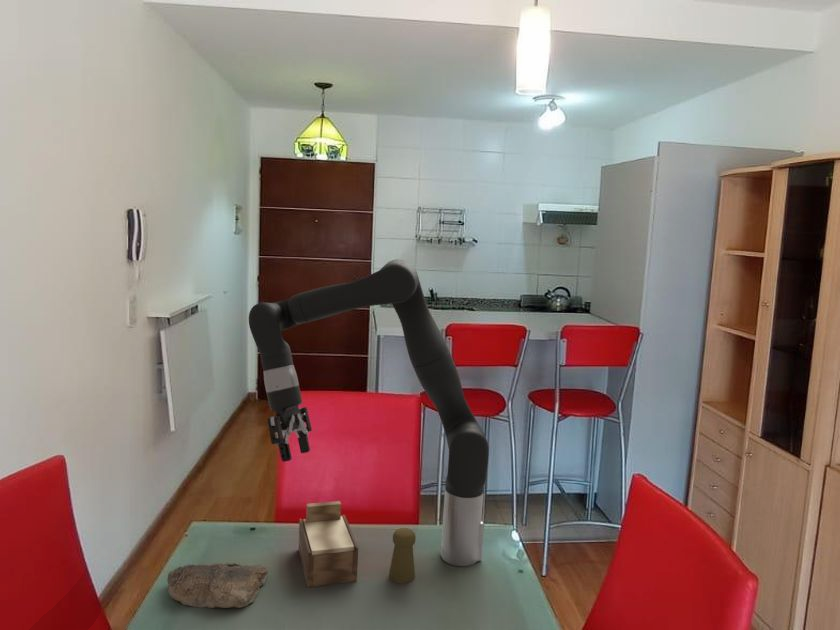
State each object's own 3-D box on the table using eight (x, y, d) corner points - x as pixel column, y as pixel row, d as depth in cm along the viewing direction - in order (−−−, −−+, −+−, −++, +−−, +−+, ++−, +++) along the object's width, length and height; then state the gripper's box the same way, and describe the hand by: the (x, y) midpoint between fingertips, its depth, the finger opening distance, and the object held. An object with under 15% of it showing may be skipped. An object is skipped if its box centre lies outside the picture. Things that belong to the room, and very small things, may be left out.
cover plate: (341, 519, 157) (342, 500, 156) (354, 550, 143) (355, 529, 142) (302, 523, 154) (303, 503, 153) (311, 555, 140) (312, 533, 139)
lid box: (343, 545, 159) (344, 514, 158) (356, 581, 144) (358, 547, 143) (298, 549, 155) (299, 518, 154) (307, 587, 140) (308, 553, 139)
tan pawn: (383, 575, 147) (385, 530, 145) (401, 565, 151) (404, 521, 149) (402, 586, 143) (404, 540, 141) (420, 576, 147) (423, 531, 145)
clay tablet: (152, 607, 131) (248, 615, 130) (152, 584, 130) (248, 592, 129) (182, 571, 145) (269, 578, 144) (182, 550, 144) (269, 557, 143)
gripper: (280, 388, 141) (295, 461, 140) (311, 380, 154) (325, 447, 153) (251, 394, 143) (265, 466, 142) (284, 386, 156) (297, 452, 156)
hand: (296, 456), depth 148 cm, fingers open, 8 cm apart
